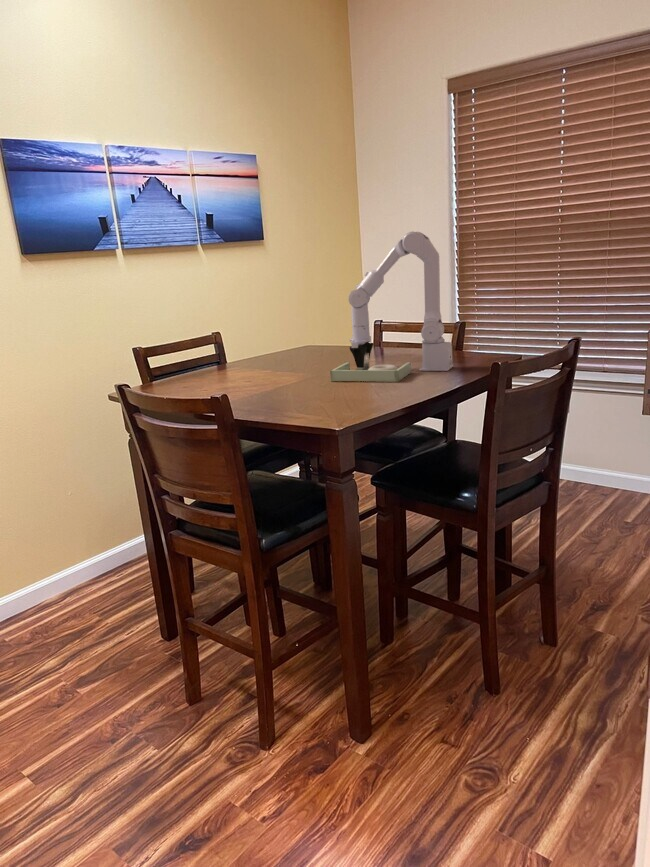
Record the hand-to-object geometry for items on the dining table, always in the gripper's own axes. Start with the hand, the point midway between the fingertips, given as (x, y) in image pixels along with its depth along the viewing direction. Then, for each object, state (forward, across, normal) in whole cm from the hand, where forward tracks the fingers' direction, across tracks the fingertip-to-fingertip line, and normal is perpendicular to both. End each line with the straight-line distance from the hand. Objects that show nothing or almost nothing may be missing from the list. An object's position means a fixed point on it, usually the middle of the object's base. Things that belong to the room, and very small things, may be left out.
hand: (362, 366), depth 221 cm
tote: (+1, +12, +7) cm, 14 cm away
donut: (0, +8, +9) cm, 12 cm away
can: (+1, 0, 0) cm, 1 cm away
